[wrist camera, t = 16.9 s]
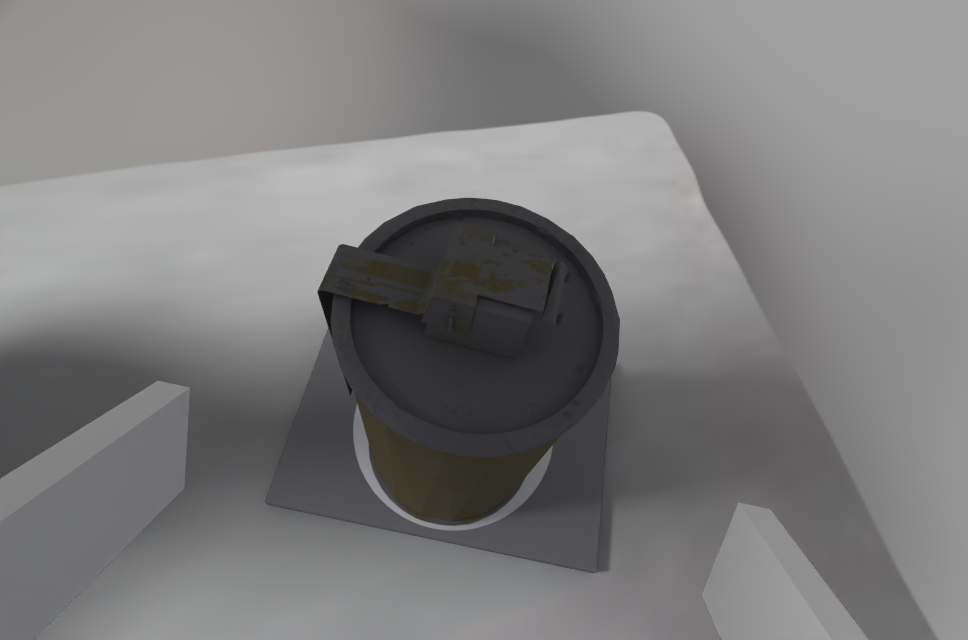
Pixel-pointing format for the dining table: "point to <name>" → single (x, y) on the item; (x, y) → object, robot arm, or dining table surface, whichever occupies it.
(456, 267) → the canister
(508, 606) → the dining table surface
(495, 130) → the dining table surface
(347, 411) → the circle mat
